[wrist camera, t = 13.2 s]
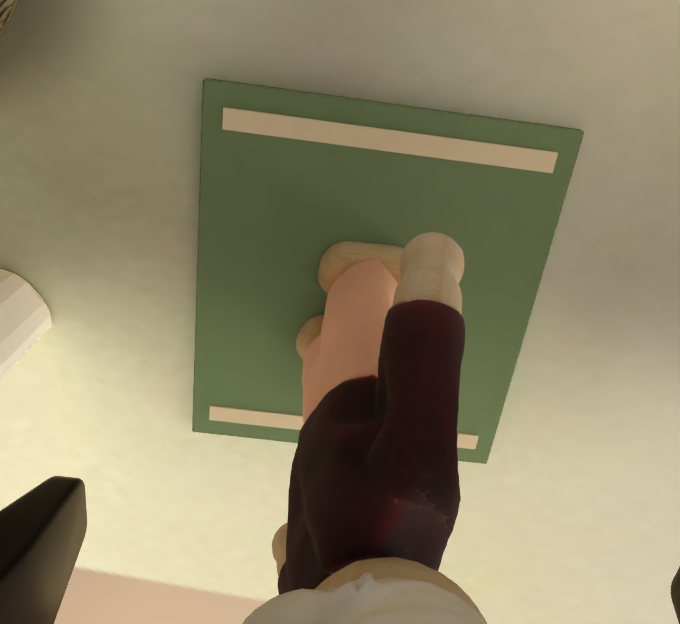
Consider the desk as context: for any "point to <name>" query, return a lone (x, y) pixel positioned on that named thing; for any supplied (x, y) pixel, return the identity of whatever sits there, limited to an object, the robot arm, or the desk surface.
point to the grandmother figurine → (376, 443)
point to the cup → (6, 12)
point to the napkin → (359, 238)
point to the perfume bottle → (19, 319)
